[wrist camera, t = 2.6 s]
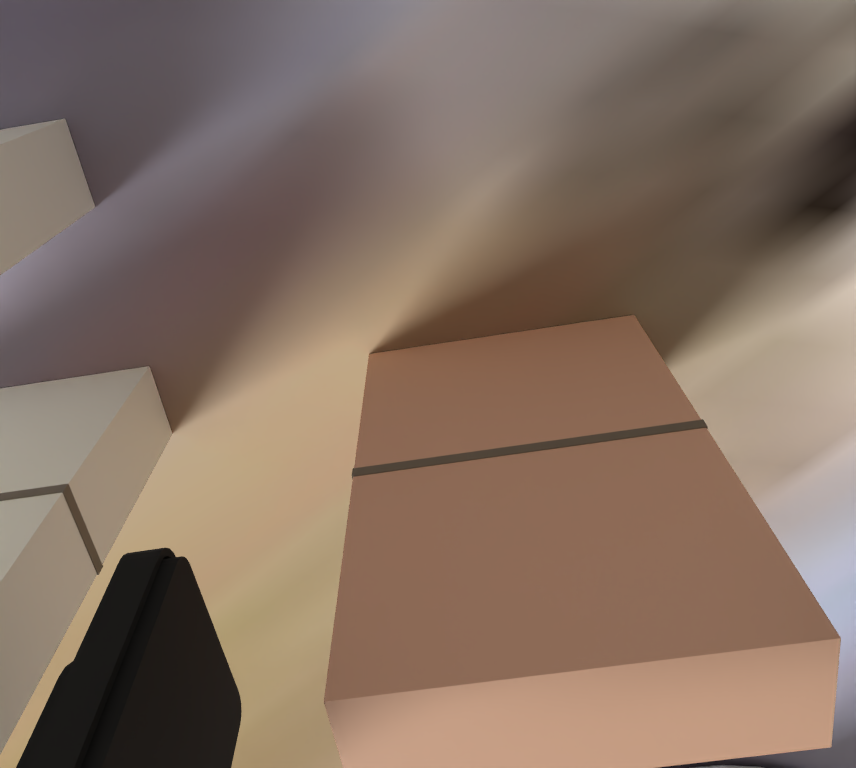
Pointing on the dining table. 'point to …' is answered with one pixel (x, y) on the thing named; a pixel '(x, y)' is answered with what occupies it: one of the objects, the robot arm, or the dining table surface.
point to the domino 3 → (561, 570)
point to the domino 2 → (64, 507)
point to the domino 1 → (38, 188)
